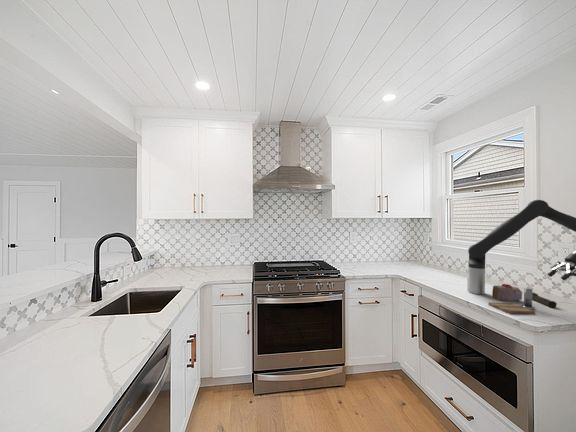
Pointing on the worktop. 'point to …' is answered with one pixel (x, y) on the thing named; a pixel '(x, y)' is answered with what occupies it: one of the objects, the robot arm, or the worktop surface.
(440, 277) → the worktop surface
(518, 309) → the walnut board
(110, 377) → the worktop surface
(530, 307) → the round metal knob
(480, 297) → the worktop surface
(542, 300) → the hand tool
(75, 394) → the worktop surface
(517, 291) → the food item
